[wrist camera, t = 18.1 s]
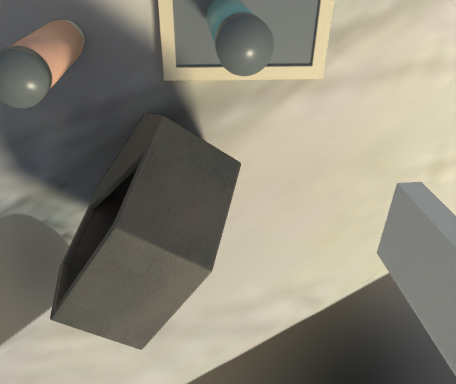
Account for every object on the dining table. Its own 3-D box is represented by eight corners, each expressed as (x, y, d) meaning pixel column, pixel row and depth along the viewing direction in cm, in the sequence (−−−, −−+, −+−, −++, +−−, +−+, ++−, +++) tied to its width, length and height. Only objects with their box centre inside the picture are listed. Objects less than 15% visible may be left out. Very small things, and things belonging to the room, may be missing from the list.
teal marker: (205, 35, 35) (216, 76, 24) (204, -8, 33) (216, 15, 22) (243, 35, 35) (271, 75, 25) (245, -8, 34) (276, 15, 23)
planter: (183, 66, 32) (77, 312, 22) (255, 115, 35) (190, 352, 25) (117, 146, 46) (31, 323, 35) (173, 177, 49) (109, 348, 38)
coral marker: (51, 58, 35) (-7, 108, 24) (41, 16, 34) (-25, 51, 23) (90, 57, 36) (51, 107, 25) (83, 16, 34) (37, 51, 23)
